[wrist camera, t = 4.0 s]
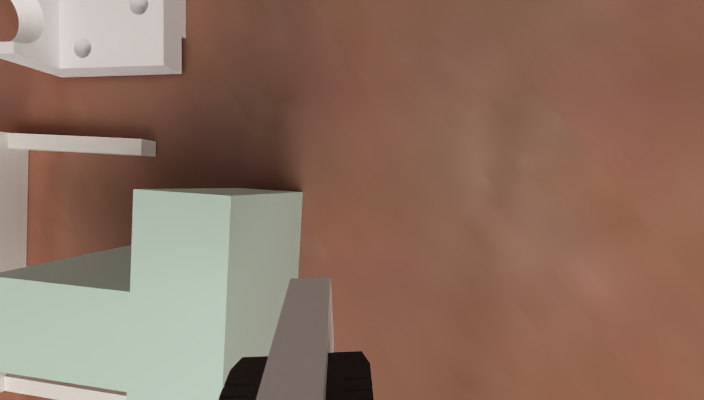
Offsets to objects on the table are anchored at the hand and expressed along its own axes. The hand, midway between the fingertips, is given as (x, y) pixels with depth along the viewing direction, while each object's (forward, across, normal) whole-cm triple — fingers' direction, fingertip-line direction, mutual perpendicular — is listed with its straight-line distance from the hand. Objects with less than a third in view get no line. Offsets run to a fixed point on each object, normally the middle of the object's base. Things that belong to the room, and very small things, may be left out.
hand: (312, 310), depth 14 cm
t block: (+20, -11, -9) cm, 25 cm away
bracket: (+28, -20, +13) cm, 37 cm away
